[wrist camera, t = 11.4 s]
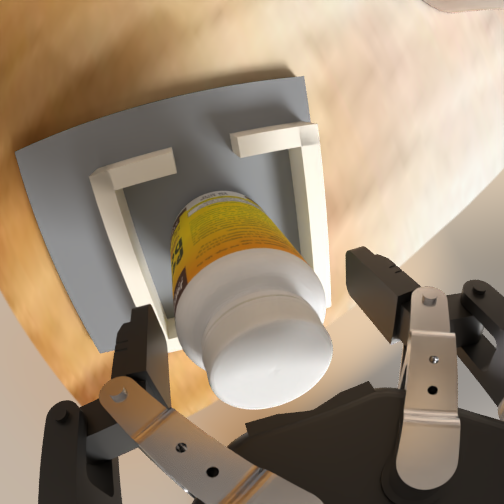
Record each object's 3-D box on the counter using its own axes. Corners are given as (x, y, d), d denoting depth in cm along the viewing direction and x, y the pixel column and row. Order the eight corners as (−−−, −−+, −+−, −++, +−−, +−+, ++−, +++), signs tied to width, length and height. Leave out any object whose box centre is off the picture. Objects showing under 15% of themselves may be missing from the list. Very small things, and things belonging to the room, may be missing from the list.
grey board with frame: (297, 77, 16) (319, 73, 14) (319, 286, 23) (338, 310, 20) (22, 149, 14) (-2, 158, 11) (101, 343, 20) (96, 374, 18)
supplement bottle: (160, 197, 16) (157, 319, 7) (263, 180, 17) (367, 273, 8) (179, 287, 19) (201, 437, 10) (270, 269, 20) (347, 397, 11)
